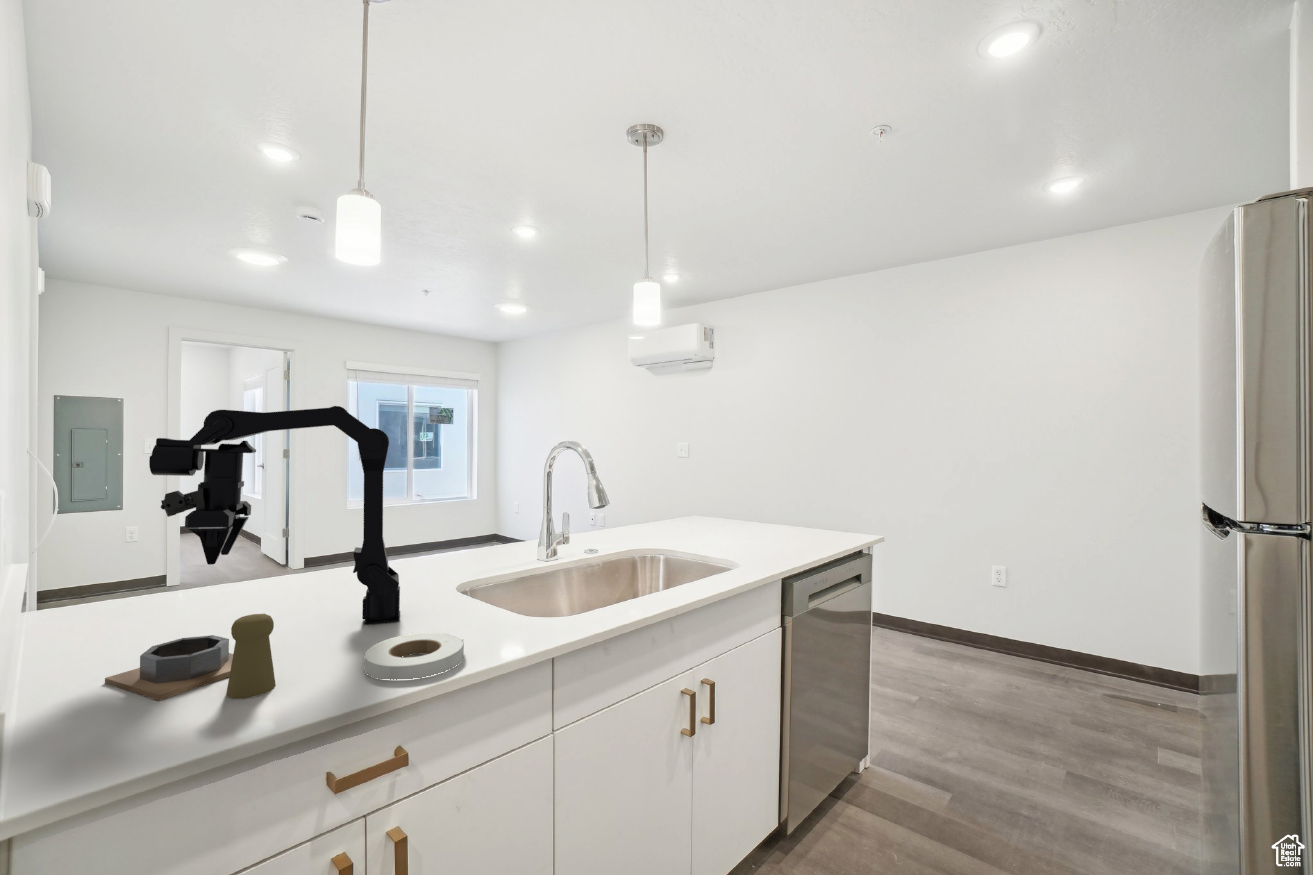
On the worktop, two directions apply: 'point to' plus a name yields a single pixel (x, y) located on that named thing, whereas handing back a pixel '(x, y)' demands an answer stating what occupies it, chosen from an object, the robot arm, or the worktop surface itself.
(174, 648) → the metal collar
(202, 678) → the walnut plate
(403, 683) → the worktop surface
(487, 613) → the worktop surface
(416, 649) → the roll of tape
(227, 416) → the robot arm
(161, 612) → the worktop surface
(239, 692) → the cork
